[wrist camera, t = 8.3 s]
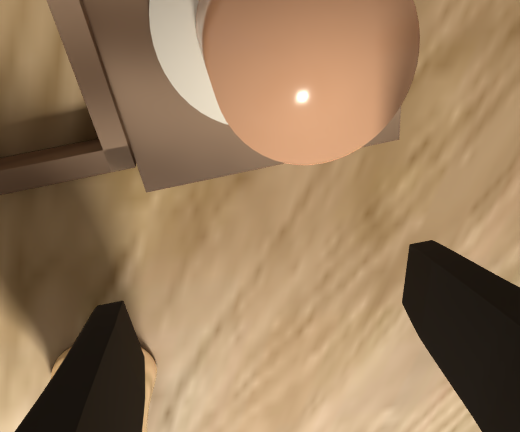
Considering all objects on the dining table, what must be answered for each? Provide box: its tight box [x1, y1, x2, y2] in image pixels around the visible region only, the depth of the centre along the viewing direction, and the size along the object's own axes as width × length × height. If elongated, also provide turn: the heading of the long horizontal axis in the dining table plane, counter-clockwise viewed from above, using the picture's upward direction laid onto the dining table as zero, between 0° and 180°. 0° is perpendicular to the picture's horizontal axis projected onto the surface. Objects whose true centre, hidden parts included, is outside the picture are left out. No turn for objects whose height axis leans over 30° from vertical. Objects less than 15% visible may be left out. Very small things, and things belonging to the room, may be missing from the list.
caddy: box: [0, 0, 401, 195], centre depth 15 cm, size 12×21×2 cm, turn 98°
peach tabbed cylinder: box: [196, 0, 420, 165], centre depth 12 cm, size 5×7×7 cm
